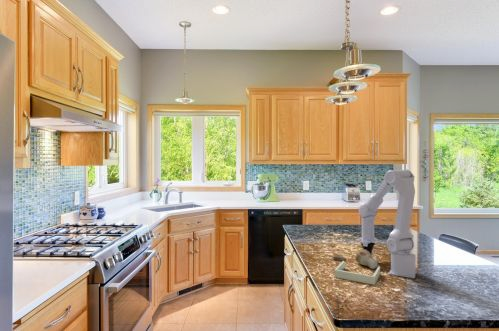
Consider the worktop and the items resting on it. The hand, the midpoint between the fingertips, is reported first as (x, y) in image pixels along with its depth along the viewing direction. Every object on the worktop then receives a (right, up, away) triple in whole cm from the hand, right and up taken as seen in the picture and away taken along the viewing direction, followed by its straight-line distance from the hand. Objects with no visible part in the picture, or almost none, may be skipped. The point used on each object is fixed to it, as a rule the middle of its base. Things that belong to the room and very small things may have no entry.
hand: (368, 257), depth 143 cm
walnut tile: (-14, -2, +3) cm, 14 cm away
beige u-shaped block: (-12, -1, -19) cm, 23 cm away
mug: (-3, -2, -8) cm, 9 cm away
